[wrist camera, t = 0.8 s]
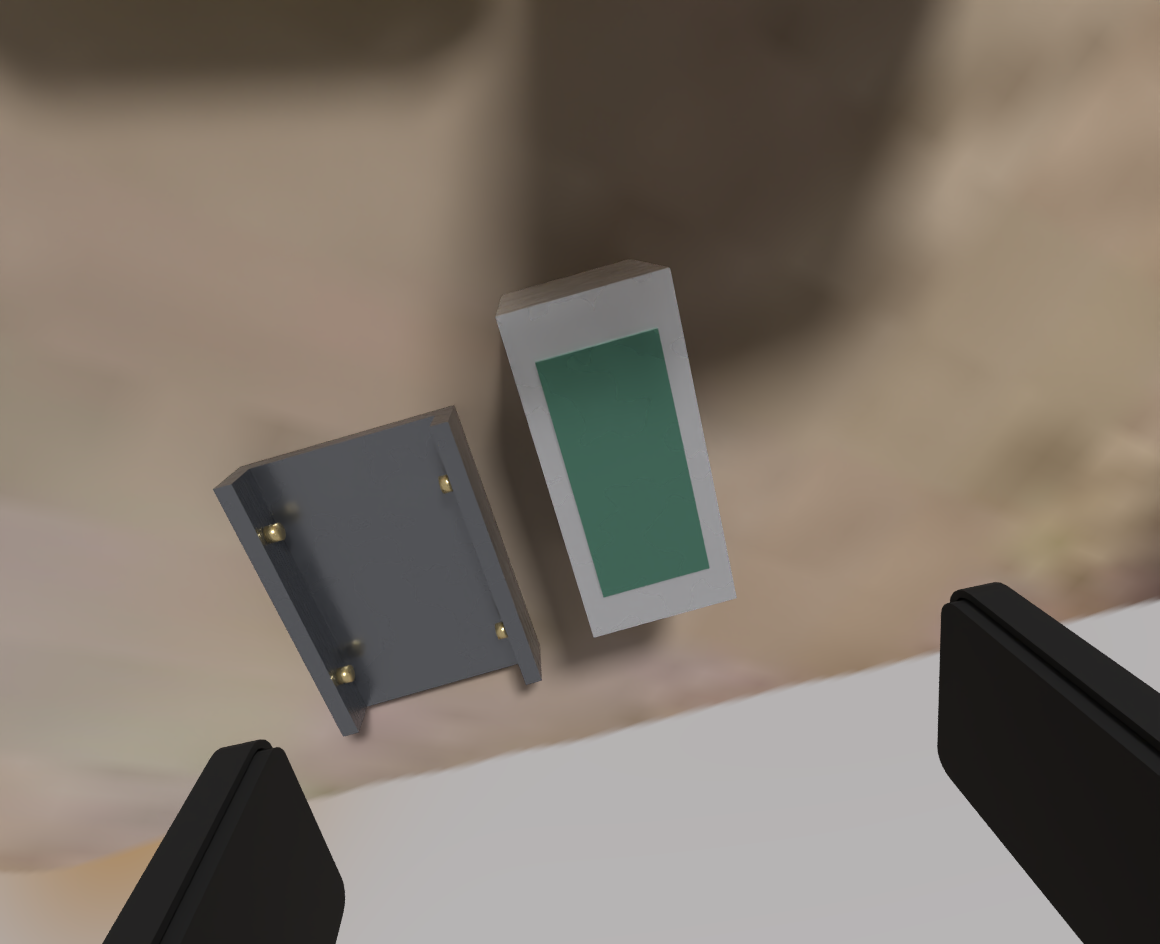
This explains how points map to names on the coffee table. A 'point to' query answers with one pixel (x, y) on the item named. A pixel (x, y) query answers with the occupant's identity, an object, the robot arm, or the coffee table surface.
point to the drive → (620, 441)
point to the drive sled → (384, 562)
